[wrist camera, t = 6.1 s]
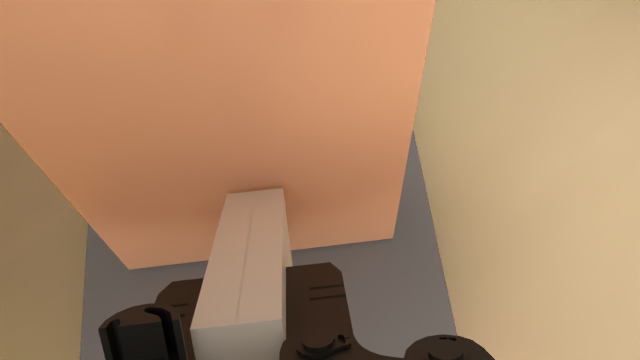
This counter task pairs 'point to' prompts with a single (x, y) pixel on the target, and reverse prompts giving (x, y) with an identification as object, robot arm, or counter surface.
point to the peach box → (216, 113)
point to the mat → (351, 259)
